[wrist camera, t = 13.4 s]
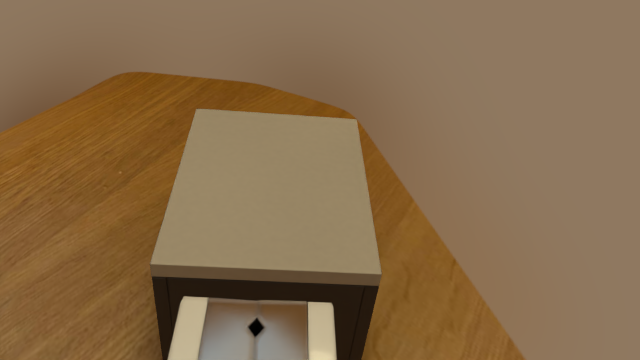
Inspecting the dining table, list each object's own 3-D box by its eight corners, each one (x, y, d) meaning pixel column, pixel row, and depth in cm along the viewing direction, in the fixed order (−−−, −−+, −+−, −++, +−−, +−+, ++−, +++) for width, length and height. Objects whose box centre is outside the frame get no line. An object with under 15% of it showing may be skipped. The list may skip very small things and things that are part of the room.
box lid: (197, 119, 43) (196, 108, 42) (355, 129, 44) (356, 119, 43) (151, 276, 29) (149, 263, 29) (379, 286, 30) (381, 274, 30)
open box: (199, 211, 47) (195, 126, 42) (342, 219, 48) (356, 136, 43) (163, 370, 35) (151, 277, 29) (357, 376, 36) (378, 286, 31)
